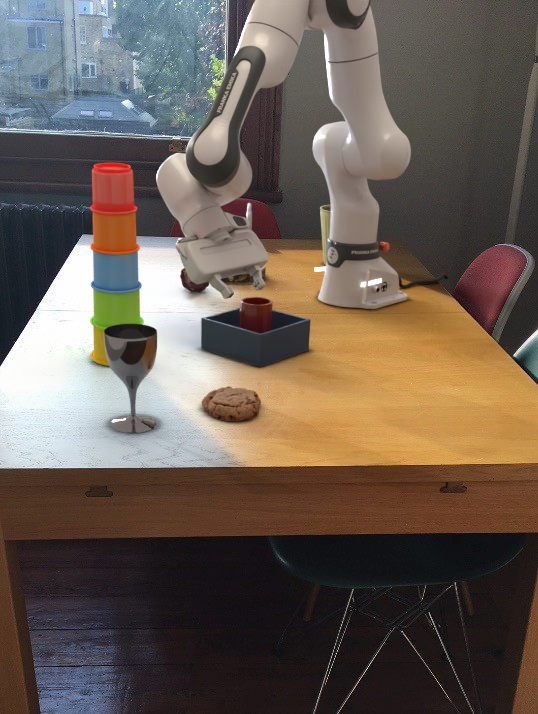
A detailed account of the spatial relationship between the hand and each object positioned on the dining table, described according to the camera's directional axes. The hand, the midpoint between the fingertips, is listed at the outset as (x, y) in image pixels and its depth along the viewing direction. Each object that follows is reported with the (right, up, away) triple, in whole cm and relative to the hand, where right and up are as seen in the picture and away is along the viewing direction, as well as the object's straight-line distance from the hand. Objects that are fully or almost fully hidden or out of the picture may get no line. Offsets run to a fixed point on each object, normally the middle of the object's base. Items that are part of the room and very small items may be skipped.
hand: (246, 292), depth 170 cm
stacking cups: (-24, -14, -4) cm, 28 cm away
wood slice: (-4, +18, +57) cm, 60 cm away
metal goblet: (-17, -29, -32) cm, 47 cm away
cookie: (-2, -26, -25) cm, 36 cm away
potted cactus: (+26, +12, +82) cm, 87 cm away
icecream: (-13, +11, +42) cm, 46 cm away
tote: (+2, -11, +3) cm, 11 cm away
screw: (0, +35, +89) cm, 96 cm away
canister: (+2, -10, +3) cm, 11 cm away
